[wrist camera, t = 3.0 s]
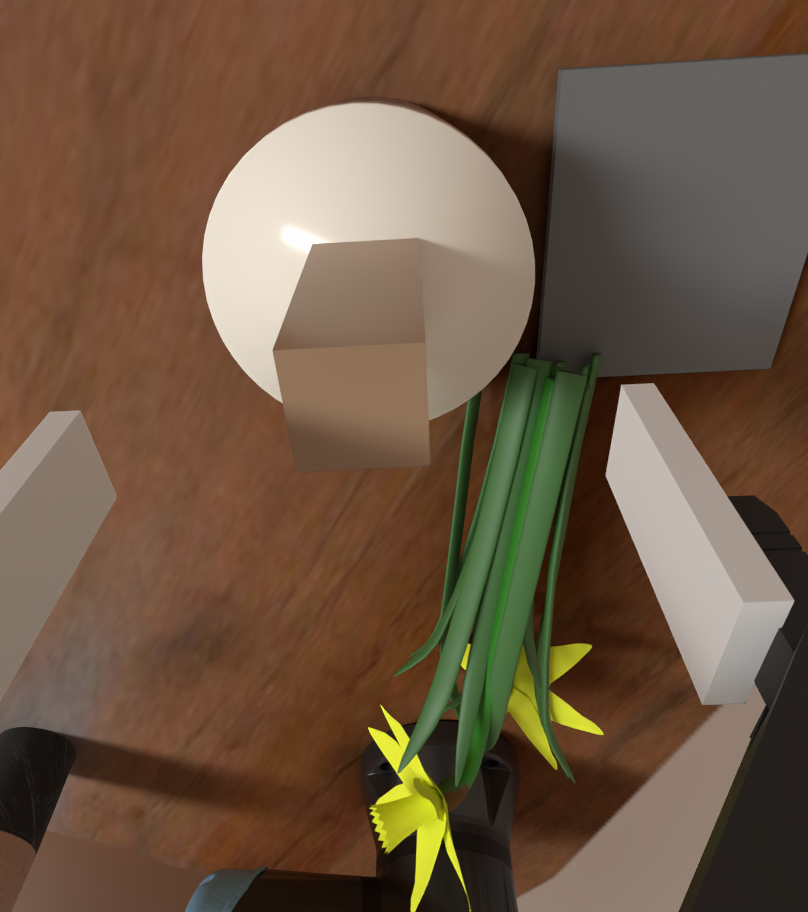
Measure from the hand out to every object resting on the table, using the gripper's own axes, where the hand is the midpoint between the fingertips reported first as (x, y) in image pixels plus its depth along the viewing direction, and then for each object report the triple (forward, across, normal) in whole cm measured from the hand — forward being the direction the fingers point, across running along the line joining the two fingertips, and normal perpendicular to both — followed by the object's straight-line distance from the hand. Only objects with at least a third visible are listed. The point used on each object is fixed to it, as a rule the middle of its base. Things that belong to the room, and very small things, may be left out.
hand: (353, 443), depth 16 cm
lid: (+12, 0, 0) cm, 12 cm away
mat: (+19, -15, +2) cm, 24 cm away
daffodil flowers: (+19, -5, +21) cm, 29 cm away
